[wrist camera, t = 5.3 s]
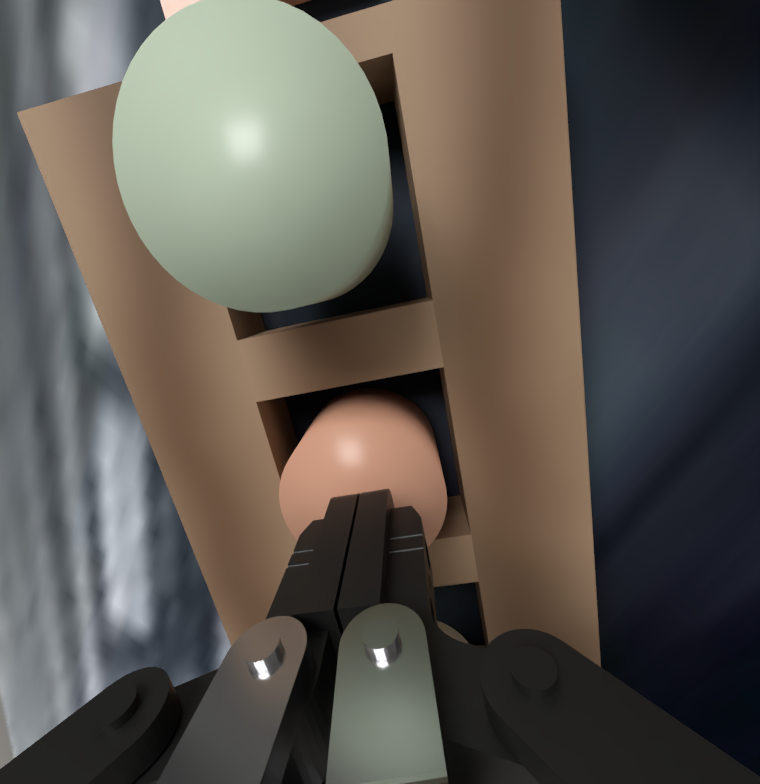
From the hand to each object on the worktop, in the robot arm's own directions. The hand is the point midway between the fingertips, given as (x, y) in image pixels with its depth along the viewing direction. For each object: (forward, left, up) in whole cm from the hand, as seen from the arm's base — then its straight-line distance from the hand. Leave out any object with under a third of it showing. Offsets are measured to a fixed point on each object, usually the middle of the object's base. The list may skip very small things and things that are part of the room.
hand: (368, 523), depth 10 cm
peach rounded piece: (0, 0, -5) cm, 5 cm away
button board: (0, 0, -5) cm, 5 cm away
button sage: (0, -8, -2) cm, 8 cm away
